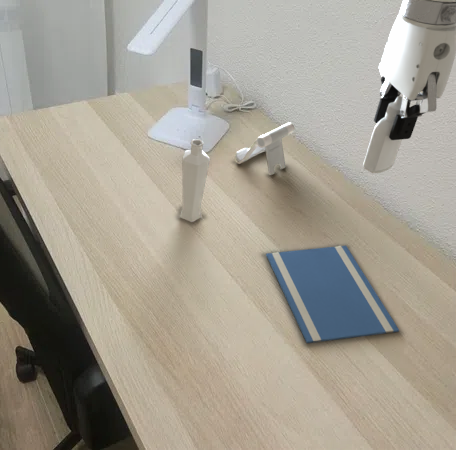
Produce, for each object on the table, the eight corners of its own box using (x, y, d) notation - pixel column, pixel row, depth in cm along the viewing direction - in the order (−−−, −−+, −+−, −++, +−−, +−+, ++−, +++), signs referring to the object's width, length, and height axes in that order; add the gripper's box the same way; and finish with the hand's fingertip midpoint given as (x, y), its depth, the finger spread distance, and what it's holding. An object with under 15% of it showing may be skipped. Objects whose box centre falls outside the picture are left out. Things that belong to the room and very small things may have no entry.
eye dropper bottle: (401, 172, 86) (425, 103, 79) (366, 174, 86) (387, 105, 78) (388, 157, 90) (411, 89, 82) (355, 159, 89) (375, 91, 81)
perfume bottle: (207, 211, 99) (216, 140, 89) (196, 225, 96) (204, 152, 86) (185, 203, 100) (191, 131, 91) (173, 216, 97) (178, 143, 88)
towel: (345, 247, 93) (346, 245, 92) (398, 331, 79) (399, 329, 79) (265, 255, 91) (266, 253, 90) (306, 343, 77) (307, 341, 77)
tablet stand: (262, 146, 115) (269, 111, 110) (292, 163, 111) (300, 127, 106) (234, 161, 111) (239, 124, 106) (263, 179, 107) (270, 142, 101)
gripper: (498, 30, 66) (444, 158, 78) (424, -15, 78) (387, 102, 90) (440, 33, 65) (395, 163, 77) (375, -12, 77) (344, 105, 89)
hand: (391, 128), depth 83 cm, fingers closed on eye dropper bottle, 4 cm apart
